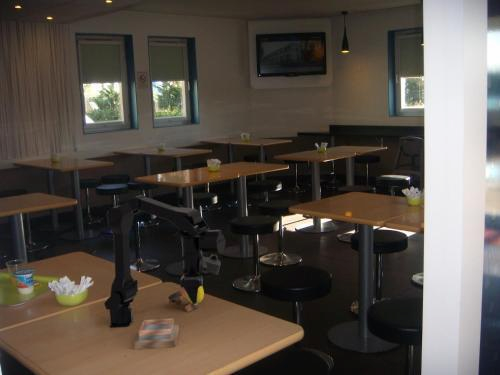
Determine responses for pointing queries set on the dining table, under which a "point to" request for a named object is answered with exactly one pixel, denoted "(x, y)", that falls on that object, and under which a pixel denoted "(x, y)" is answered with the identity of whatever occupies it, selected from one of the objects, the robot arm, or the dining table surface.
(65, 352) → the dining table surface
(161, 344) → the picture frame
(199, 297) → the lemon
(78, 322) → the dining table surface
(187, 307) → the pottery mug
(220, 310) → the dining table surface
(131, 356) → the dining table surface
